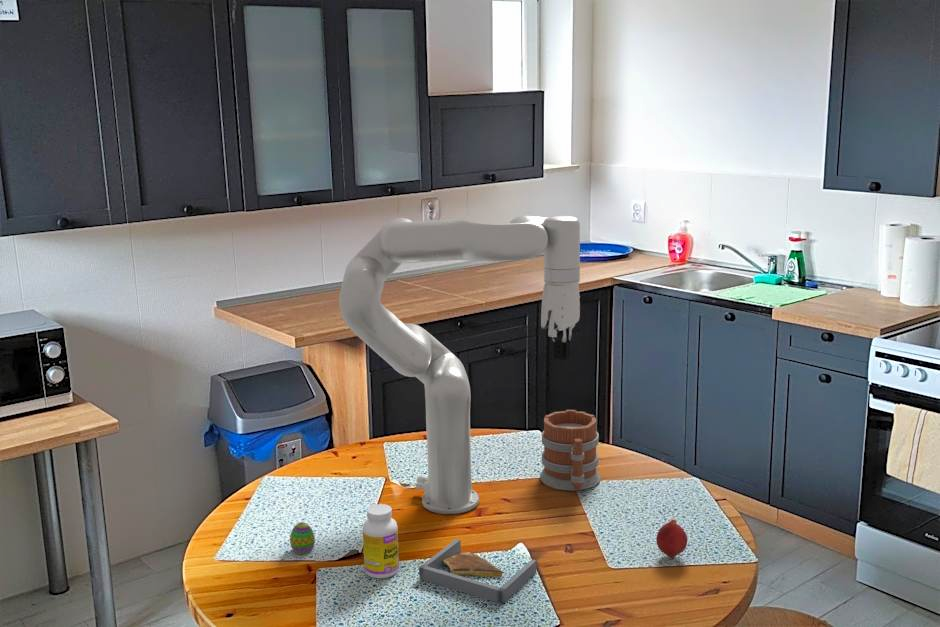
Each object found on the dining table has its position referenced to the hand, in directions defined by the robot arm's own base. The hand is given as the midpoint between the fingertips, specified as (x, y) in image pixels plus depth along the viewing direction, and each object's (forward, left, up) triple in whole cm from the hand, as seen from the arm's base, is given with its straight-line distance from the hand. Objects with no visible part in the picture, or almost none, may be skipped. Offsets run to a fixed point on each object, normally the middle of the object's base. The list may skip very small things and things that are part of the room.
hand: (562, 358), depth 207 cm
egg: (-34, -48, -32) cm, 67 cm away
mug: (-1, +7, -32) cm, 33 cm away
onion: (+31, -15, -32) cm, 47 cm away
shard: (-1, -37, -33) cm, 49 cm away
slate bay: (+2, -39, -32) cm, 51 cm away
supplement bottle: (-15, -47, -32) cm, 59 cm away
